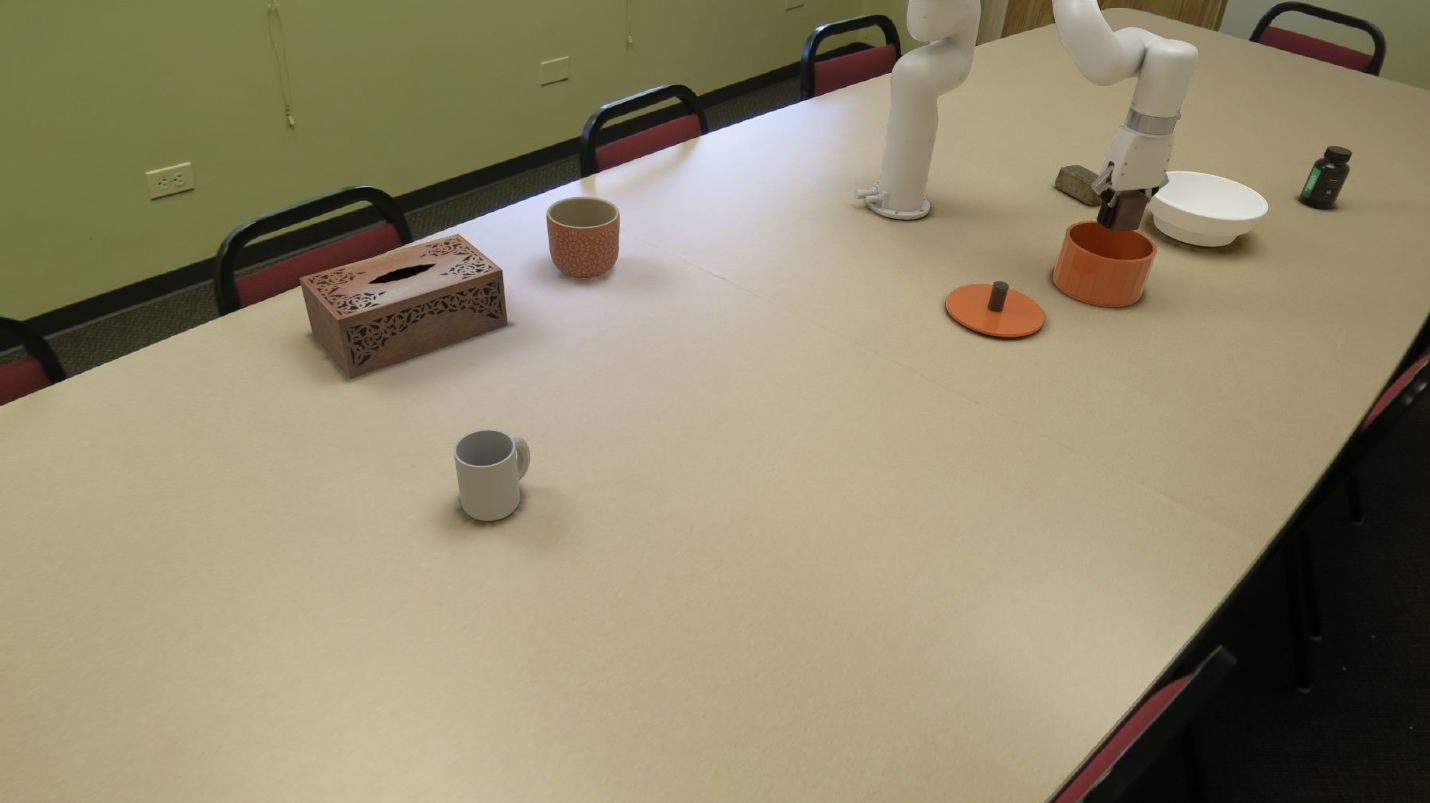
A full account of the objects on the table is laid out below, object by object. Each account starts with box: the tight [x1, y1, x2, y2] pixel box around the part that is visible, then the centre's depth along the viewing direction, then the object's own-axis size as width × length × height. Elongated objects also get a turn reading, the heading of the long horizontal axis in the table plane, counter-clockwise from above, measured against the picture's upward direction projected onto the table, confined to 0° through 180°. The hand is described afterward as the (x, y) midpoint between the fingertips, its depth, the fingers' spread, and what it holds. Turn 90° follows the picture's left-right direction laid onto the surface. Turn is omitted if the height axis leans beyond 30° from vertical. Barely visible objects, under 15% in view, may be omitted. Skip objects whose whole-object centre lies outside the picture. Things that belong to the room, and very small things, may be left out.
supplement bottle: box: [1298, 145, 1353, 210], centre depth 205 cm, size 7×7×12 cm
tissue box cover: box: [299, 233, 508, 379], centre depth 147 cm, size 26×14×10 cm, turn 129°
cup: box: [453, 428, 531, 522], centre depth 118 cm, size 7×10×9 cm
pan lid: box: [945, 280, 1045, 338], centre depth 161 cm, size 16×16×6 cm
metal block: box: [1096, 190, 1149, 232], centre depth 164 cm, size 5×5×6 cm
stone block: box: [1054, 164, 1108, 206], centre depth 203 cm, size 6×12×5 cm, turn 28°
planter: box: [545, 196, 621, 279], centre depth 165 cm, size 12×12×11 cm
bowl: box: [1146, 170, 1269, 247], centre depth 191 cm, size 22×22×8 cm
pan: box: [1052, 220, 1158, 308], centre depth 170 cm, size 15×15×9 cm
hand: (1117, 222), depth 166 cm, fingers closed on metal block, 5 cm apart
